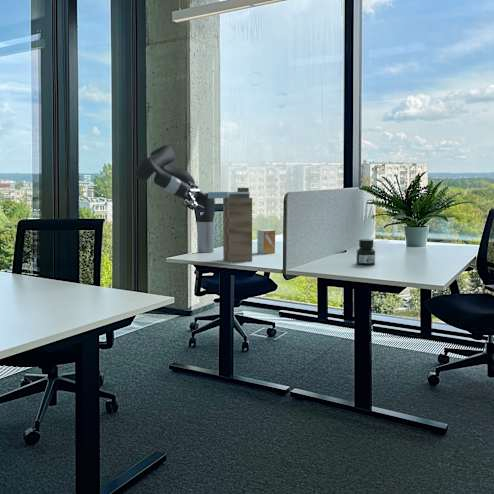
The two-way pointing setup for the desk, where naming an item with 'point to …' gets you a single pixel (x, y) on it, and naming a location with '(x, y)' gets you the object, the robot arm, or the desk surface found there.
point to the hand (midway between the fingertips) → (203, 202)
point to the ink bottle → (365, 252)
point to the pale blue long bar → (228, 193)
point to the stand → (237, 228)
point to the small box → (266, 241)
